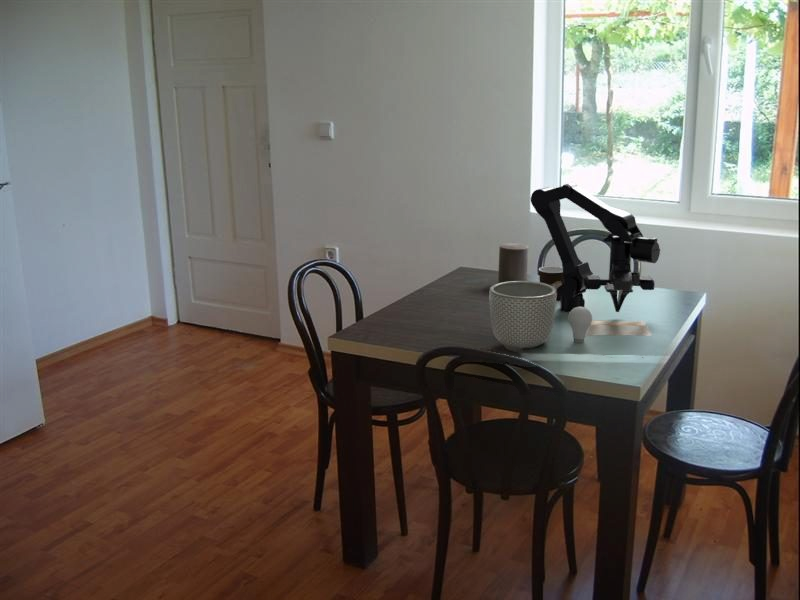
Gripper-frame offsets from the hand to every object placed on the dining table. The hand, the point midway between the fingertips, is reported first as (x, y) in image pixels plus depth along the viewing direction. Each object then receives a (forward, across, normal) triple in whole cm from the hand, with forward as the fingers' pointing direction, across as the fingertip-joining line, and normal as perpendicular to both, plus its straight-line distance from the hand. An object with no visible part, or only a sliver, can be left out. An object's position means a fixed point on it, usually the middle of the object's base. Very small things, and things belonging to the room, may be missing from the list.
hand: (617, 311), depth 235 cm
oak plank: (+3, -3, -2) cm, 5 cm away
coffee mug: (+4, -15, +23) cm, 28 cm away
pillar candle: (+4, -28, +41) cm, 50 cm away
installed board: (+3, -3, -12) cm, 12 cm away
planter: (+4, -28, -23) cm, 36 cm away
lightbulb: (+4, -13, -22) cm, 26 cm away
